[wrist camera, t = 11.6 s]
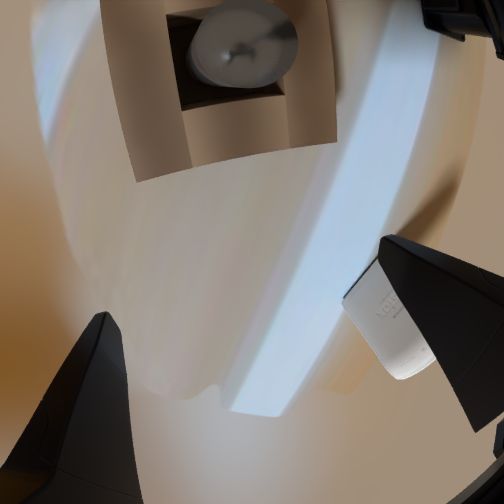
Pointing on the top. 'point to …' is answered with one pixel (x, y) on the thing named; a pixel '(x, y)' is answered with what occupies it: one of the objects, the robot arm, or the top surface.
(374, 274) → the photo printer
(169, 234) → the top surface
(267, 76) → the grey metal cylinder
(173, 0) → the socket block
